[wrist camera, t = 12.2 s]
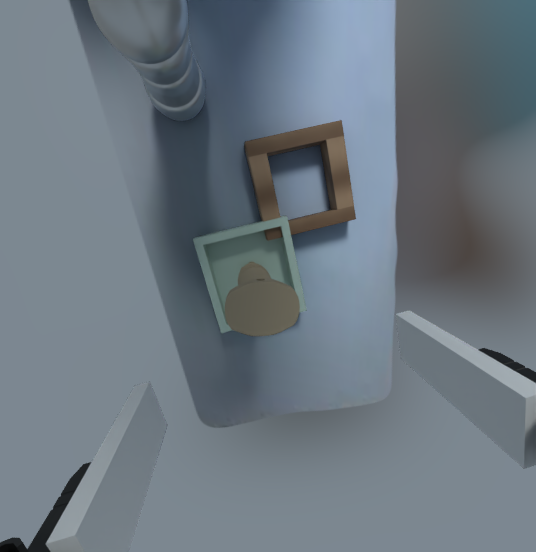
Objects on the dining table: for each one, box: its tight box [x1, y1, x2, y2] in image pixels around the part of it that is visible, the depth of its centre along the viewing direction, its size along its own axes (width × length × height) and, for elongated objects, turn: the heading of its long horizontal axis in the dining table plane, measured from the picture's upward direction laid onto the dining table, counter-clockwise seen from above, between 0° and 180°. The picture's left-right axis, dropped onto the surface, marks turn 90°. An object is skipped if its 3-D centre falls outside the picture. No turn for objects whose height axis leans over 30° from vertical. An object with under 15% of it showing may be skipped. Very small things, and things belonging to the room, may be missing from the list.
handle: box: [225, 262, 300, 336], centre depth 30 cm, size 5×6×15 cm
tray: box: [193, 216, 307, 333], centre depth 37 cm, size 13×12×3 cm
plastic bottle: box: [88, 0, 206, 121], centre depth 23 cm, size 6×7×20 cm
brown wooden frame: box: [244, 120, 356, 241], centre depth 35 cm, size 12×12×2 cm
